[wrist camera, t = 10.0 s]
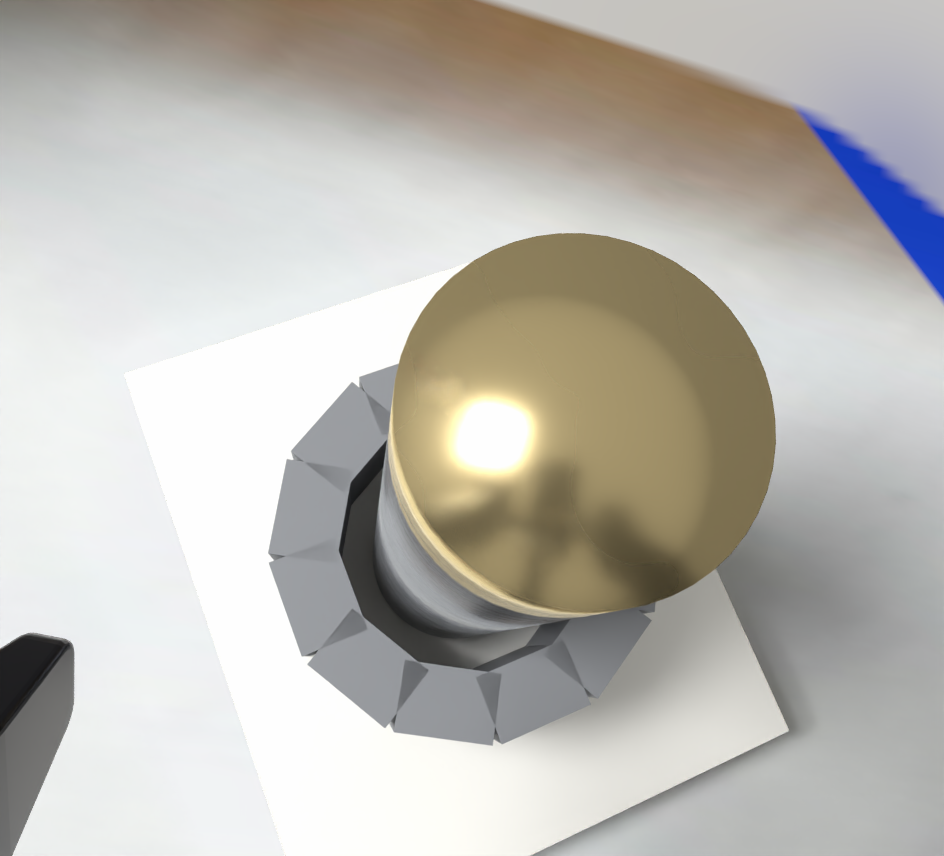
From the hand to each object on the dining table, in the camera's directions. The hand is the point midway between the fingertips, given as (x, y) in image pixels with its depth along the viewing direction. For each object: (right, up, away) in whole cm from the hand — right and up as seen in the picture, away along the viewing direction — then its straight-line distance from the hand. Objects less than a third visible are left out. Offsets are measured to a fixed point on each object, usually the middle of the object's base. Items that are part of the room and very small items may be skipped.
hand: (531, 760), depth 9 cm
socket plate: (-1, 0, +14) cm, 14 cm away
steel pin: (-1, 0, +13) cm, 13 cm away
